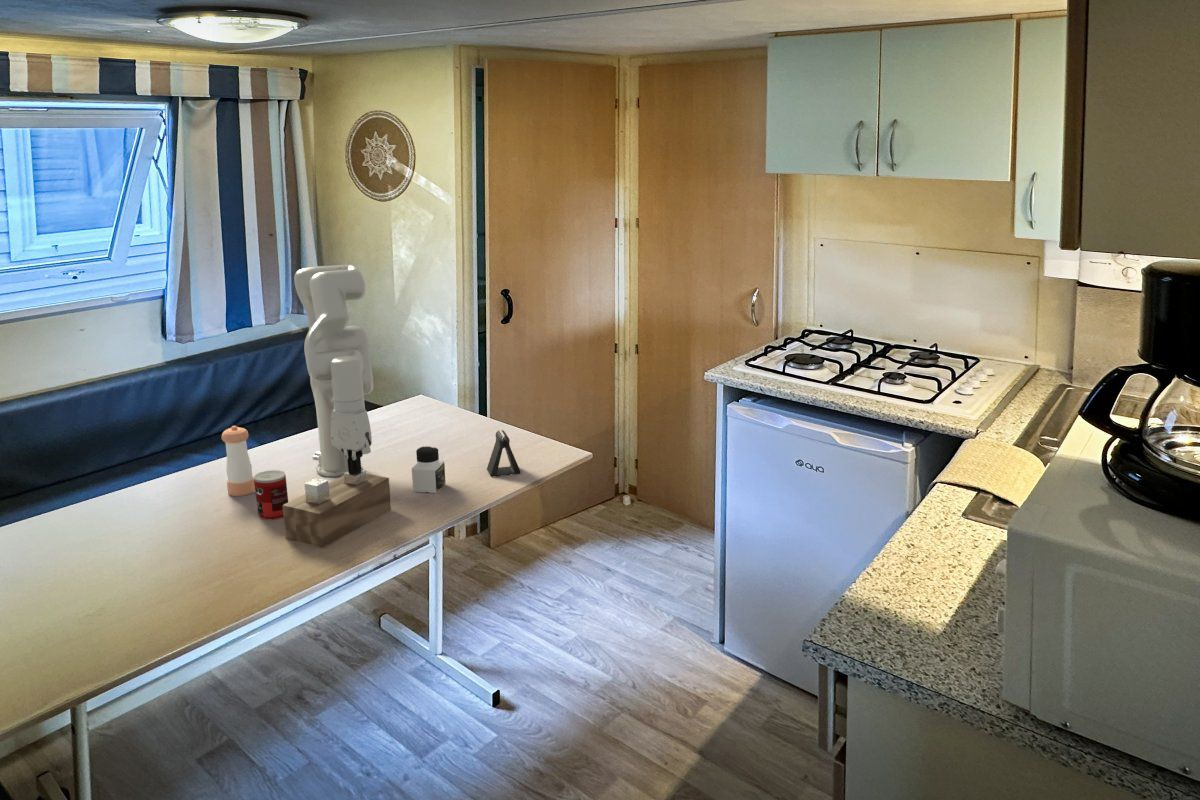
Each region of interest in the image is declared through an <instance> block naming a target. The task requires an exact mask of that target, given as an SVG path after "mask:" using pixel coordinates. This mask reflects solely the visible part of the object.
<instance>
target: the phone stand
mask: <svg viewBox="0 0 1200 800" xmlns="http://www.w3.org/2000/svg"><path fill="white" fill-rule="evenodd" d="M501 432H502V433H501ZM502 434H503V435H504V436H503V435H502ZM510 441H511V440H510V438H509V436H508V435H507V433H506V431H505V430H503V429H501V431H500V430H499V429H498V430H497V431H496V433H495V443H494V446H493V448H492V451H491V455H490V457H489V460H488V464H487V467H486V470H487V472H488V474H489V477H491V478H494V477H493V476H496V477H502V476H501V475H505V476H511V475H510V474H514V475H520V474H522V473H521V472H522V471H521V469H520V467H519V465H518V462H517V460H516V458H515V455H514V453H513V450H512V448H511V445H510ZM503 449H505V453H506V456H507V459H508V461H509V462H508V463H509V466H501V467H499V465H500V463H501V462H500V461H501V457H502V453H503Z"/></svg>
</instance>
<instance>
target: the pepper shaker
mask: <svg viewBox="0 0 1200 800" xmlns="http://www.w3.org/2000/svg"><path fill="white" fill-rule="evenodd" d="M248 438H249V432H248V430H247V429H246V428H244V427H239V426H237V425H232V426H231V427H230V428H229V427H228V428H226V429H225V430H224V431H223V432H222V434H221V440H222V442H224V444H225V450H226V452H225V453H226V476H227V480H226V486H227V494H228V495H229V496H234V497H243V496H247V495H249V494H252V493H254V492H255V486H254V475H253V468H252V467H253V466H252V463H251V460H250V459H251V458H250V457H249V456H250V455H249V453H248V445H247V444H248V443H247V440H248Z"/></svg>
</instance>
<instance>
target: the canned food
mask: <svg viewBox="0 0 1200 800" xmlns="http://www.w3.org/2000/svg"><path fill="white" fill-rule="evenodd" d="M253 477H254V486H255V491H254V492H255V493H254V494H255V500H256V509H257V515H258V517H259V518H261V519H262V520H263V519H264V520H270V521H271V520H277V519H281V518H284V515H283V506H282V505H284V504H286V503H288V502H289V496H288V487H287V477H286V473H285V471H281V470H273V469H271V470H265V471H261V472H258V473H256V474H255V475H253Z"/></svg>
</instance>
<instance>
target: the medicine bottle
mask: <svg viewBox="0 0 1200 800" xmlns="http://www.w3.org/2000/svg"><path fill="white" fill-rule="evenodd" d="M415 453H416V463H415V465H413V466H412V468H411V477H412V478H411V481H412V491H413V492H416V493H425V492H429V493H428V494H438V492H439V491H441V489H442V488H443V487H444V486H445V485H446V470H445V469H446V468H445V467H446V465H445V461H443V460H440V459H439V456H440V455H439V449H438V448H437V447H436V446H435V445H434V446H433V445H423V446H421V447H418V448H417V449H416V451H415Z"/></svg>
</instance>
